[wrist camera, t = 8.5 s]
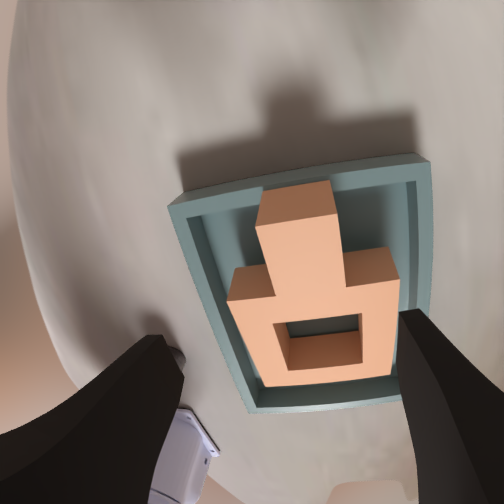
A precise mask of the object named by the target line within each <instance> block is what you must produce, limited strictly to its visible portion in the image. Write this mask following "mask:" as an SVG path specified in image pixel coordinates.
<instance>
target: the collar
mask: <svg viewBox="0 0 504 504" xmlns="http://www.w3.org/2000/svg"><path fill="white" fill-rule="evenodd" d="M255 228H256V231H257V235H258V238H259V241H260V245H261V248H262V251H263V255H264V258H265V261H266V264H261V265H253V266H246V267H238V268H235V270H234V274H233V278H232V282H231V285H230V289H229V293H228V297H227V301H226V302H227V304H228V306H229V308H230V311H231V313H232V315H233V317H234V320H235V322H236V324H237V326H238V329H239V331H240V333H241V335H242V337H243V340H244V342H245V344H246V346H247V348H248V351H249V353H250V355H251V357H252V359H253V361H254V364H255V366H256V368H257V370H258V372H259V374H260V376H261V378H262V381H263V383H264V385H265V387H275V386H293V385H307V384H318V383H329V382H339V381H347V380H355V379H363V378H370V377H377V376H384V375H390V374H391V367H392V360H393V352H394V344H395V336H396V326H397V315H398V303H399V289H400V278H399V275H398V272H397V269H396V266H395V263H394V261H393V258H392V255H391V252H390V250H389V247H388V246H387V247H381V248H374V249H367V250H360V251H353V252H346V253H342V246H341V237H340V230H339V222H338V215H337V210H336V205H335V201H334V197H333V192H332V188H331V184H330V180H326V181H319V182H313V183H307V184H301V185H295V186H289V187H283V188H278V189H272V190H267V191H263V192H262V196H261V201H260V206H259V211H258V215H257V220H256V225H255ZM350 314H358V326H359V331H352V332H344V333H336V334H328V335H319V336H310V337H301V338H290V336H289V333H288V330H287V326H286V323H285V322H292V321H301V320H310V319H319V318H327V317H335V316H343V315H350Z"/></svg>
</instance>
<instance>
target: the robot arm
mask: <svg viewBox="0 0 504 504" xmlns="http://www.w3.org/2000/svg"><path fill="white" fill-rule="evenodd" d="M396 367H397V374H398V381H399V387H400V393H401V397H402V401H403V405H404V409H405V413H406V417H407V421H408V425H409V429H410V434H411V438H412V443H413V447H414V452H415V458H416V464H417V475H418V493H419V504H504V392H502V391H501V390H500V389H499V388H498V387H497V386H495V385H494V384H493V383H492V382H491V381H490V380H489V379H488V378H486V377H485V376H484V375H483V374H482V373H481V372H480V371H479V370H478V369H477V368H476V367H475V366H474V365H473V364H472V363H471V362H470V361H469V360H468V359H467V358H466V357H465V356H464V355H463V354H462V353H461V352H460V351H459V350H458V349H457V348H456V347H455V346H454V345H453V344H452V343H451V342H450V341H449V340H448V339H447V338H446V337H445V335H444V334H443V333H442V332H441V331H440V330H439V329H438V328H437V327H436V326H435V325H434V323H433V322H432V321H431V320H430V319H429V318H428V317H427V316H426V315H425V313H424V312H423V311H422V310H420V309H419V308H417V309H411V310H406V311H400V312H399V316H398V336H397V351H396ZM184 378H185V377H184V375H183V373H182V371H181V370H180V368H179V366H178V364H177V362H176V360H175V359H174V357H173V355H172V353H171V351H170V349H169V347H168V345H167V343H166V341H165V339H164V337H163V335H146V336H145V337H143V338H142V339H141V340H139V341H138V342H137V343H136V344H134V345H133V346H132V347H131V348H129V349H128V350H127V351H126V352H125V353H124V354H122V355H121V356H120V357H119V358H118V359H117V360H115V361H114V362H113V363H112V364H111V365H110V366H108V367H107V368H106V369H105V370H104V371H103V372H101V373H100V374H99V375H98V376H97V377H95V378H94V379H93V380H92V381H90V382H89V383H88V384H87V385H85V386H84V387H83V388H82V389H80V390H79V391H78V392H77V393H75V394H74V395H73V396H71V397H70V398H68V399H67V400H66V401H64V402H63V403H61V404H60V405H58V406H57V407H55V408H54V409H52V410H50V411H49V412H47V413H45V414H43V415H42V416H40V417H38V418H36V419H34V420H32V421H31V422H29V423H27V424H25V425H23V426H21V427H18V428H16V429H14V430H11V431H8V432H6V433H3V434H1V435H0V504H195V503H196V502H197V501H198V499H199V498H200V495H201V492H202V489H203V485H204V482H205V478H206V475H207V471H208V468H209V464H210V461H211V457H212V456H215V457H218V456H220V452H219V451H218V449H217V448H216V447H215V445H214V444H213V442H212V441H211V439H210V438H209V437H208V435H207V434H206V432H205V431H204V429H203V428H202V426H201V425H200V423H199V422H198V420H197V419H196V417H195V416H194V414H193V413H192V412H191V411H190V410H187V409H177V407H178V404H179V401H180V397H181V392H182V388H183V383H184Z"/></svg>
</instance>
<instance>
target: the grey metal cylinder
mask: <svg viewBox="0 0 504 504" xmlns="http://www.w3.org/2000/svg"><path fill="white" fill-rule="evenodd" d="M168 347H169V349H170V351H171V353H172V355H173V357H174V359H175V360H176V362H177V364H178V366H179V368H180V370H181V371H182V370H183V367H184V365H185V363H186V359H185V357H184V355H183V354H182V353H181V352H180V351H179V350H177V349H175V348H173V347H170V346H168Z"/></svg>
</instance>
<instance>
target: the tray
mask: <svg viewBox="0 0 504 504" xmlns="http://www.w3.org/2000/svg"><path fill="white" fill-rule="evenodd" d="M326 180H330V184H331V188H332V192H333V197H334V201H335V205H336V210H337V215H338V222H339V230H340V237H341V246H342V253H346V252H353V251H360V250H367V249H374V248H381V247H387V246H388V247H389V250H390V252H391V255H392V258H393V261H394V263H395V266H396V269H397V272H398V275H399V278H400V289H399V303H398V315H397V326H396V336H395V344H394V352H393V360H392V367H391V374H390V375H384V376H377V377H370V378H363V379H355V380H347V381H339V382H329V383H318V384H307V385H293V386H275V387H265V385H264V383H263V381H262V378H261V376H260V374H259V372H258V370H257V368H256V366H255V364H254V361H253V359H252V357H251V355H250V353H249V351H248V348H247V346H246V344H245V342H244V340H243V337H242V335H241V333H240V331H239V329H238V326H237V324H236V322H235V320H234V317H233V315H232V313H231V311H230V308H229V306H228V304H227V302H226V301H227V297H228V293H229V289H230V285H231V282H232V278H233V274H234V270H235V268H238V267H246V266H253V265H261V264H266V261H265V258H264V255H263V251H262V248H261V245H260V241H259V238H258V235H257V231H256V228H255V225H256V220H257V215H258V211H259V206H260V201H261V196H262V192H263V191H267V190H272V189H278V188H283V187H289V186H295V185H301V184H307V183H313V182H319V181H326ZM167 208H168V211H169V214H170V217H171V220H172V222H173V225H174V228H175V231H176V234H177V237H178V240H179V243H180V245H181V248H182V251H183V254H184V257H185V259H186V262H187V265H188V268H189V270H190V273H191V276H192V278H193V281H194V284H195V286H196V289H197V291H198V294H199V297H200V299H201V302H202V304H203V307H204V310H205V312H206V315H207V317H208V320H209V322H210V325H211V327H212V330H213V332H214V335H215V337H216V339H217V342H218V344H219V347H220V349H221V352H222V354H223V356H224V359H225V361H226V363H227V366H228V368H229V370H230V373H231V375H232V377H233V380H234V382H235V384H236V387H237V389H238V391H239V393H240V396H241V398H242V400H243V402H244V404H245V407H246V409H247V411H248V413H249V414H260V413H294V412H311V411H324V410H335V409H345V408H354V407H362V406H369V405H376V404H383V403H389V402H395V401H401V400H402V397H401V393H400V387H399V381H398V374H397V367H396V351H397V336H398V316H399V312H400V311H406V310H411V309H417V308H419V309H420V310H422V311H423V312H424V313H425V315H426V316H427V317H428V316H429V306H430V295H431V281H432V262H433V196H432V178H431V164H430V161H428V160H426V159H425V158H423V157H421V156H420V155H418V154H416V153H407V154H398V155H389V156H381V157H373V158H366V159H358V160H351V161H344V162H338V163H331V164H325V165H318V166H312V167H306V168H300V169H295V170H289V171H283V172H278V173H273V174H267V175H262V176H257V177H252V178H247V179H242V180H237V181H232V182H228V183H223V184H218V185H214V186H209V187H205V188H200V189H196V190H192V191H187V192H183V193H182V194H181V195H180V196H178V197H177V198H176V199H175V200H174V201H173V202H171V203H170V204H169V205H168V206H167ZM285 323H286V326H287V330H288V333H289V336H290V338H301V337H310V336H319V335H328V334H336V333H344V332H352V331H359V326H358V314H350V315H343V316H335V317H327V318H319V319H310V320H301V321H292V322H285Z"/></svg>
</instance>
